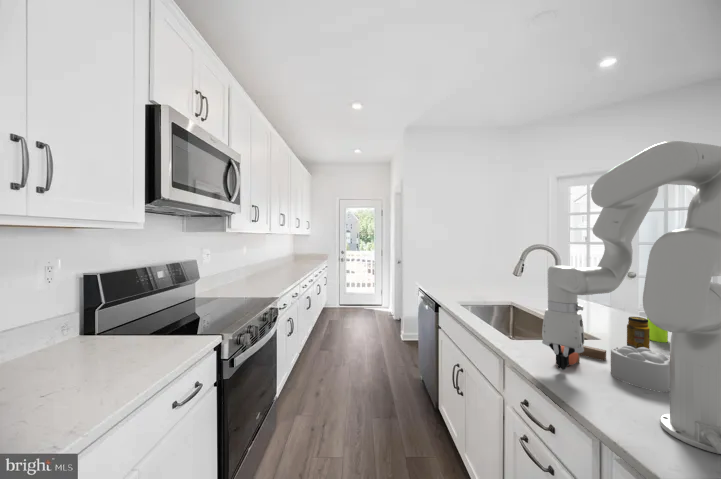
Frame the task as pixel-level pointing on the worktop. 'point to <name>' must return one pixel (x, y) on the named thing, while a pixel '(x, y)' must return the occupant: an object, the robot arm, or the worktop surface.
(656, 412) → the worktop surface
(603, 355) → the wall
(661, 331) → the soap dispenser
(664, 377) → the paw print mold
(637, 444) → the worktop surface
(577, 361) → the pin
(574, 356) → the ball
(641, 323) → the condiment
